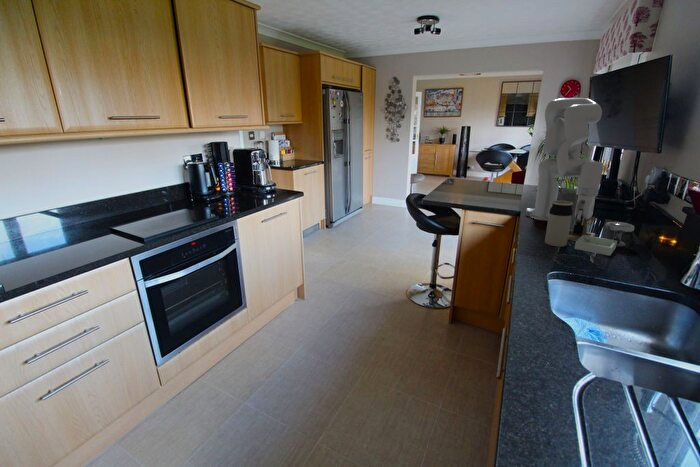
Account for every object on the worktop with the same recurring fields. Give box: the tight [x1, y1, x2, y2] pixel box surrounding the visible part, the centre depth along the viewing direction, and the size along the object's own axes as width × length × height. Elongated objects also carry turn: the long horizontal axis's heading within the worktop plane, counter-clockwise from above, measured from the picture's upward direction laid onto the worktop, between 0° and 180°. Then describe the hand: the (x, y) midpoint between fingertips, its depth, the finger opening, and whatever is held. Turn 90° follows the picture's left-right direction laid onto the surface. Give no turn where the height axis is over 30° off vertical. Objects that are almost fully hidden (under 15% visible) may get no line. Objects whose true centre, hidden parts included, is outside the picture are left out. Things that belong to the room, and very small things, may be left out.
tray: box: [574, 235, 617, 256], centre depth 132 cm, size 12×12×3 cm
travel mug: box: [544, 199, 574, 248], centre depth 136 cm, size 8×8×18 cm
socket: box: [567, 229, 596, 242], centre depth 144 cm, size 10×10×2 cm
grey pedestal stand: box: [605, 221, 635, 248], centre depth 135 cm, size 9×9×9 cm
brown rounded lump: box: [571, 215, 591, 237], centre depth 143 cm, size 6×6×11 cm
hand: (579, 231), depth 144 cm, fingers open, 5 cm apart
